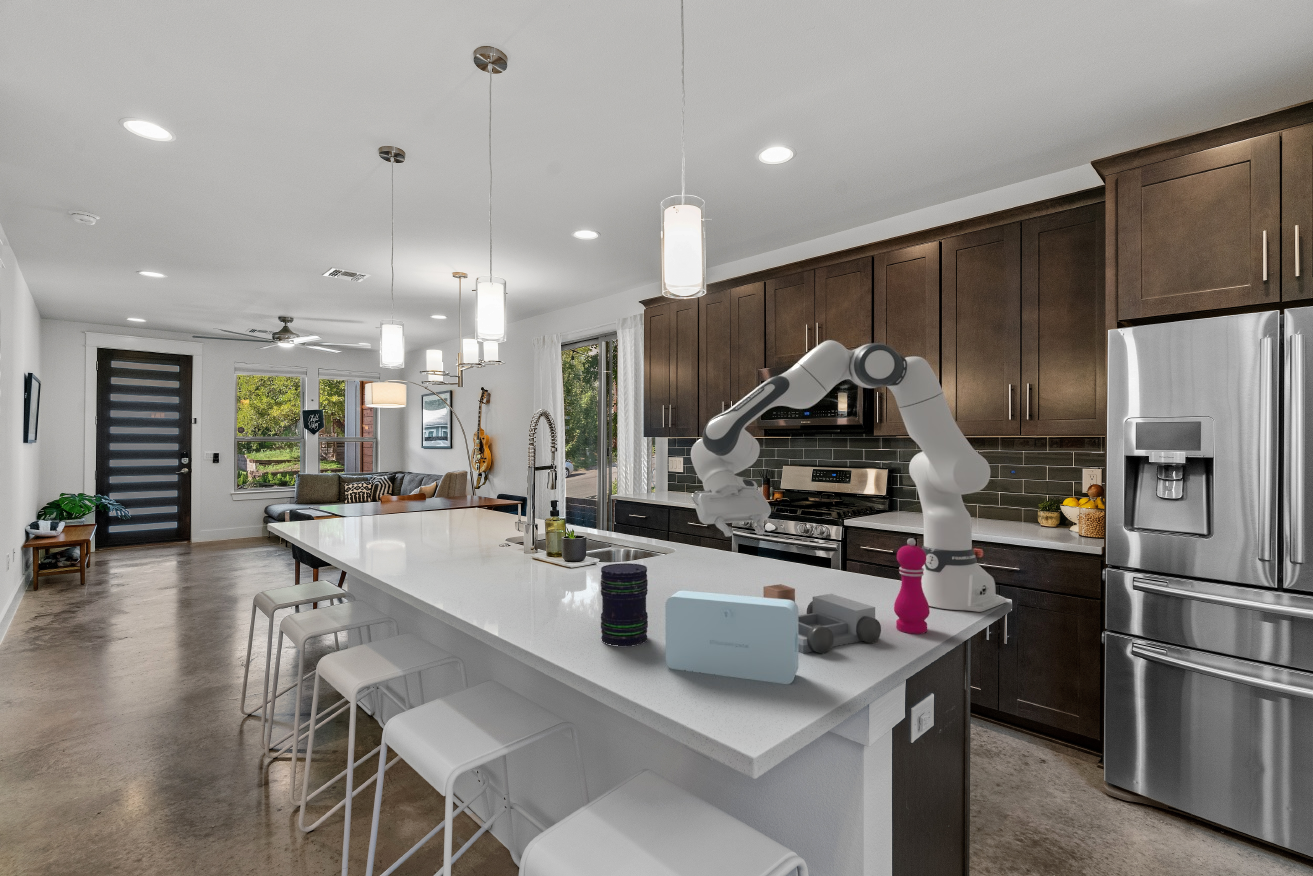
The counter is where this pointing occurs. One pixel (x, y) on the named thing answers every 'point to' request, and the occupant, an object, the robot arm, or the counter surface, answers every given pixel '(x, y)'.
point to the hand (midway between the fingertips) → (745, 533)
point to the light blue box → (732, 635)
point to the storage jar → (624, 604)
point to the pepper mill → (911, 590)
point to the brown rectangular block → (779, 592)
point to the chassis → (836, 624)
